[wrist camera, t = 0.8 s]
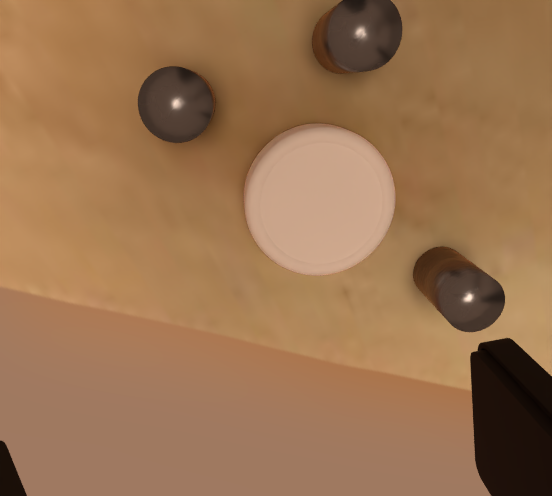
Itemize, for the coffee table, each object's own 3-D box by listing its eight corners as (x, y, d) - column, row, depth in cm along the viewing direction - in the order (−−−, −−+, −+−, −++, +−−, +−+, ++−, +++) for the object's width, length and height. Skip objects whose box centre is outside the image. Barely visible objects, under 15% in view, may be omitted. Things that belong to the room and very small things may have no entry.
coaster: (306, 287, 39) (313, 306, 35) (213, 191, 36) (212, 202, 32) (410, 198, 37) (427, 209, 34) (322, 91, 34) (332, 91, 31)
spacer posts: (392, -14, 33) (426, -35, 27) (469, 285, 39) (510, 319, 34) (143, 82, 33) (125, 82, 27) (263, 361, 40) (268, 408, 34)
